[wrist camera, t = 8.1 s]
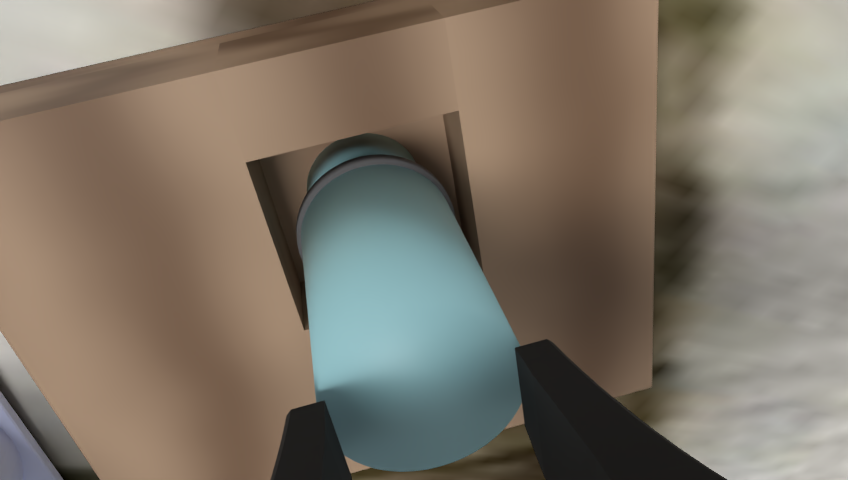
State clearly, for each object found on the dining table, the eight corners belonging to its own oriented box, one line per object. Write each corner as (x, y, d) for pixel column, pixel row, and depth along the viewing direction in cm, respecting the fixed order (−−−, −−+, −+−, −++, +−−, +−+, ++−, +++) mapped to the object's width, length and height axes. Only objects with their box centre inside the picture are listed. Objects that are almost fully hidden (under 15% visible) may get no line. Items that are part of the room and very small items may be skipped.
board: (150, 456, 25) (136, 534, 22) (-60, 99, 17) (-122, 148, 14) (610, 329, 26) (651, 387, 23) (600, -51, 19) (658, -32, 16)
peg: (311, 260, 21) (339, 497, 13) (275, 138, 19) (284, 338, 11) (441, 229, 21) (539, 442, 14) (421, 105, 19) (524, 278, 12)
